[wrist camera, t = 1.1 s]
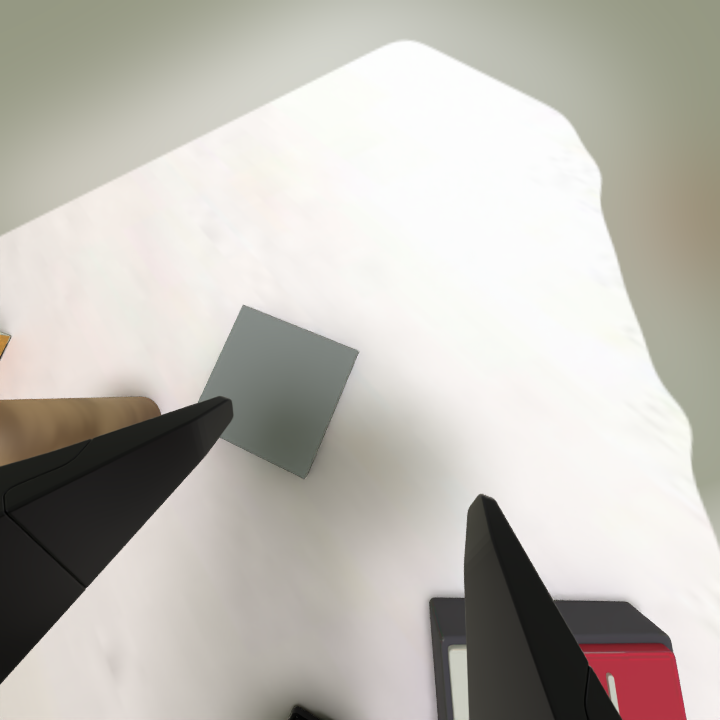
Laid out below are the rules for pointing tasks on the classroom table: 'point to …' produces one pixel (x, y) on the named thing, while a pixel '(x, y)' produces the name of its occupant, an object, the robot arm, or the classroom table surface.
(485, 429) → the classroom table surface
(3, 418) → the roller
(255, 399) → the pad
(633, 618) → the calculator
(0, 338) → the small box
